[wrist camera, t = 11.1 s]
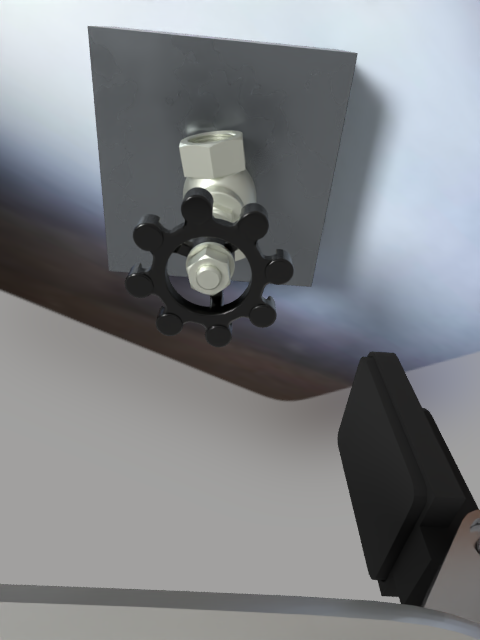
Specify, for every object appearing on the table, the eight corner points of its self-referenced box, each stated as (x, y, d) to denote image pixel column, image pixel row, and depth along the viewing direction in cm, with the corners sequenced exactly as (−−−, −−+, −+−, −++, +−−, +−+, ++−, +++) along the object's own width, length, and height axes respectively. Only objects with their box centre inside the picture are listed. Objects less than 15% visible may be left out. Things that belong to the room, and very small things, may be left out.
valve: (178, 242, 29) (144, 354, 19) (156, 136, 25) (100, 205, 15) (278, 232, 29) (297, 341, 18) (271, 122, 25) (289, 184, 15)
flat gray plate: (125, 241, 34) (109, 270, 30) (112, 26, 27) (87, 25, 22) (303, 256, 35) (311, 286, 31) (339, 49, 27) (357, 53, 23)
